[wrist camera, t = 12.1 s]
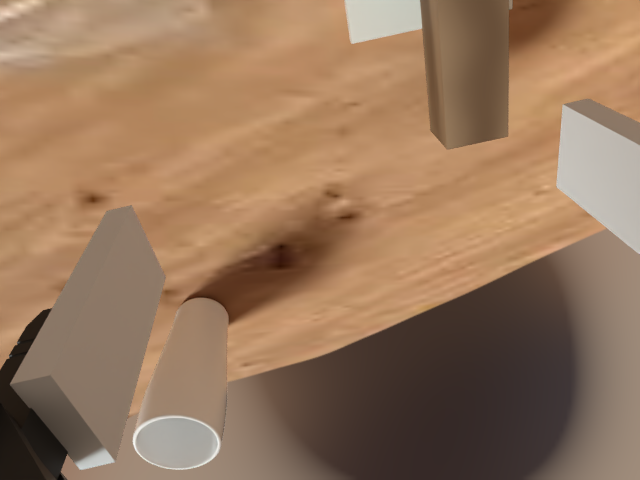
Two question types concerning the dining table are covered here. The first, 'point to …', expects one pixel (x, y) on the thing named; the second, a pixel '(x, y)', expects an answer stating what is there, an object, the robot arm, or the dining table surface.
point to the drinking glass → (187, 390)
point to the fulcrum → (383, 18)
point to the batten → (466, 69)
